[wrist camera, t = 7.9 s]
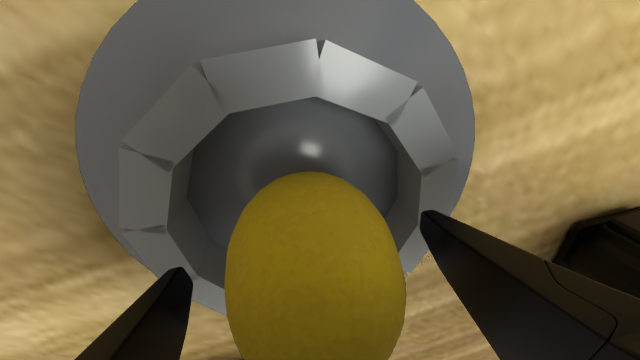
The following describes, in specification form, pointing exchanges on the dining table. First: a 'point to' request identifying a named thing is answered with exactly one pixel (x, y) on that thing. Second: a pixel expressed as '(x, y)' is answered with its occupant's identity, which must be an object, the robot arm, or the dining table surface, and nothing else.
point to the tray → (267, 120)
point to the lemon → (313, 274)
